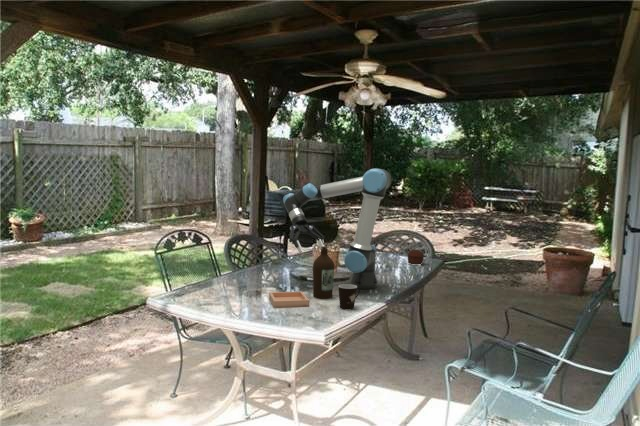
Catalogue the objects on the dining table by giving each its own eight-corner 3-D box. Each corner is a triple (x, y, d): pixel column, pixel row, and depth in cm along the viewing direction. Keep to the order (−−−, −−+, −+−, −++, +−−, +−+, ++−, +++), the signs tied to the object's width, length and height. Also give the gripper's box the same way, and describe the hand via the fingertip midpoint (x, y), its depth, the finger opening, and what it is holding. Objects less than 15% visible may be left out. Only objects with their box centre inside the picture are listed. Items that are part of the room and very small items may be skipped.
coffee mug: (340, 310, 225) (341, 288, 224) (335, 305, 233) (335, 284, 232) (365, 309, 228) (366, 288, 227) (358, 304, 236) (359, 283, 235)
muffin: (403, 263, 345) (404, 248, 344) (416, 262, 349) (417, 248, 348) (413, 266, 334) (414, 251, 333) (427, 265, 339) (428, 251, 338)
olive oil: (307, 295, 250) (309, 245, 247) (325, 293, 255) (327, 244, 253) (319, 300, 241) (321, 249, 239) (337, 298, 247) (339, 247, 244)
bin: (302, 297, 246) (302, 291, 245) (309, 306, 230) (309, 300, 230) (269, 298, 242) (269, 292, 242) (274, 307, 226) (274, 301, 226)
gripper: (315, 222, 275) (329, 254, 264) (274, 224, 261) (288, 257, 250) (320, 213, 270) (335, 245, 259) (280, 215, 256) (294, 248, 245)
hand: (312, 251), depth 254 cm, fingers open, 13 cm apart
